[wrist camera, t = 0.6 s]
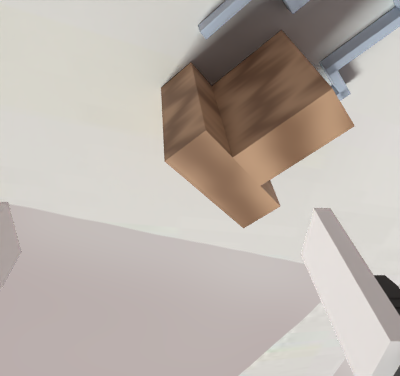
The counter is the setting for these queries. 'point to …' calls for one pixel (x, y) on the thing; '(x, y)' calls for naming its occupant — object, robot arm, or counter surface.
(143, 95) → the counter surface
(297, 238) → the counter surface
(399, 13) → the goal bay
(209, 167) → the tee block
